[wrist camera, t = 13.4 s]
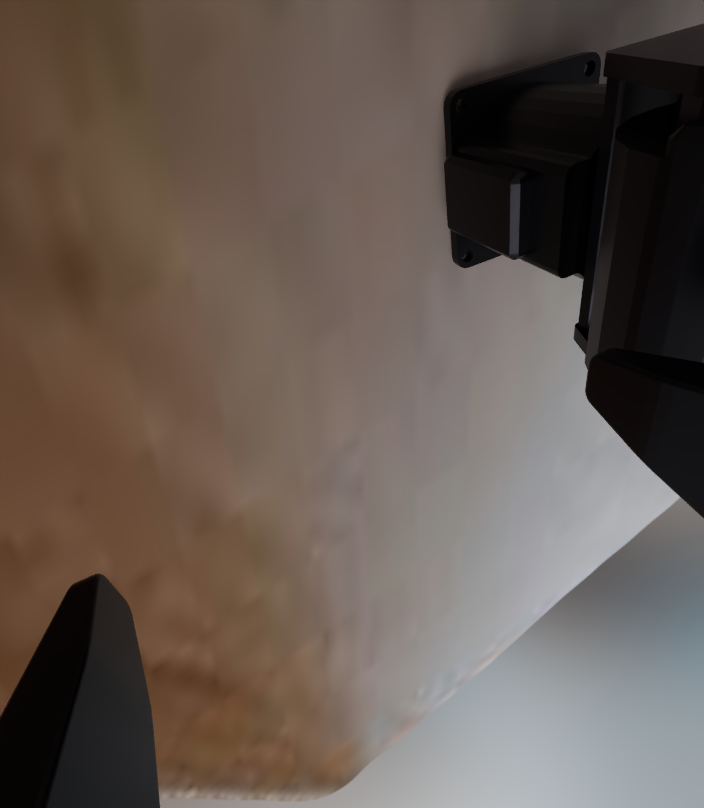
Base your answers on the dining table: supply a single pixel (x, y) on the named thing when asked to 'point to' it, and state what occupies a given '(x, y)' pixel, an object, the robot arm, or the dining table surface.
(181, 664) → the dining table surface
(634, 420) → the robot arm
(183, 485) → the dining table surface
